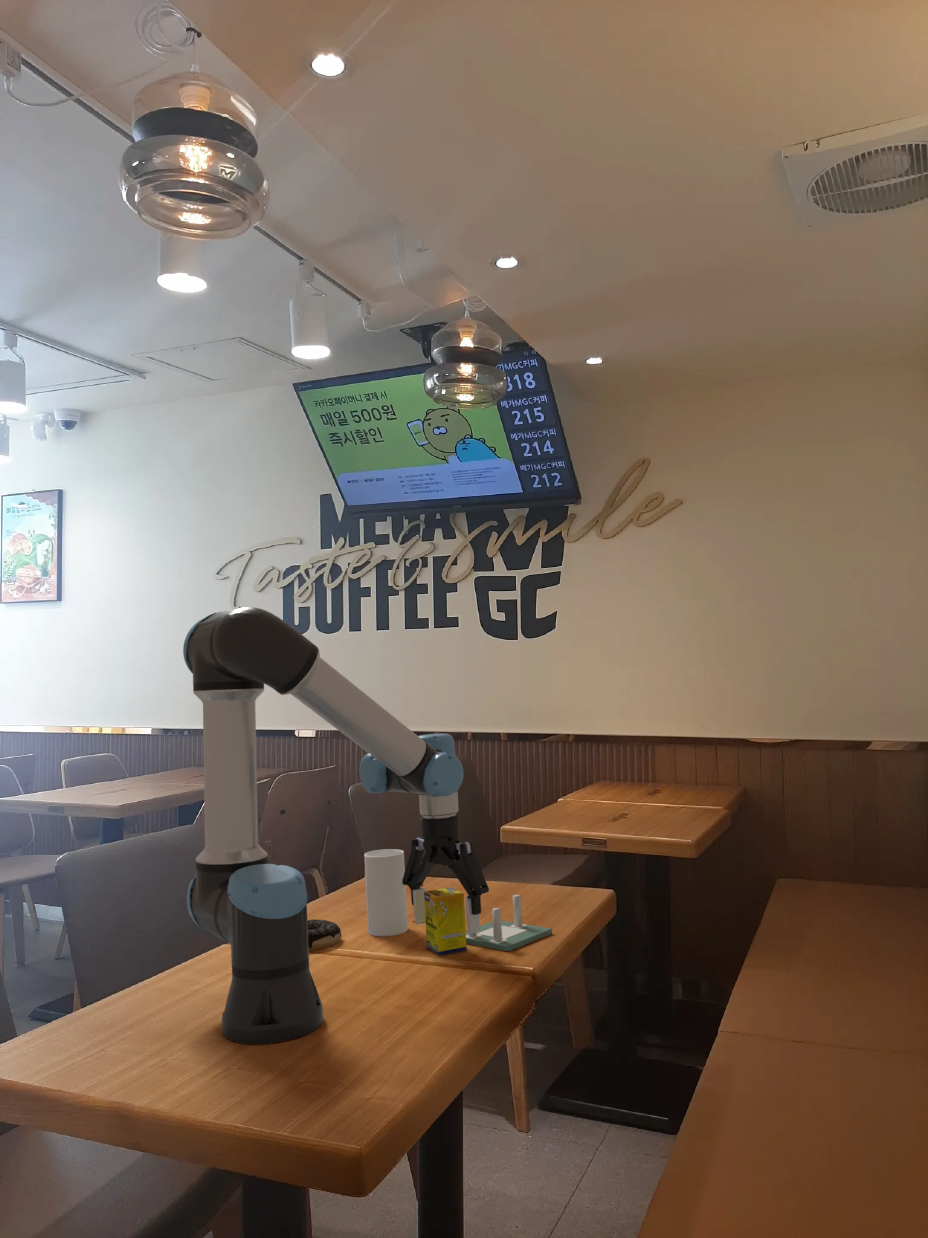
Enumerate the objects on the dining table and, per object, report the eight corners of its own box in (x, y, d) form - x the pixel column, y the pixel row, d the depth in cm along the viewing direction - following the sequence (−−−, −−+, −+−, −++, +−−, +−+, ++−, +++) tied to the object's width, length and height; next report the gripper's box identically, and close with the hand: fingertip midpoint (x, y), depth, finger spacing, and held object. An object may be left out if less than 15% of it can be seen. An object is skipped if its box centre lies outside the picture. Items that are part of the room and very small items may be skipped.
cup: (410, 925, 202) (406, 848, 203) (404, 936, 194) (400, 856, 195) (372, 926, 203) (368, 849, 204) (364, 937, 195) (360, 857, 196)
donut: (274, 951, 189) (273, 931, 189) (303, 935, 200) (302, 915, 200) (324, 954, 185) (324, 933, 185) (351, 937, 196) (350, 917, 197)
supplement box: (426, 949, 184) (423, 891, 185) (454, 944, 186) (451, 886, 187) (438, 956, 179) (435, 897, 179) (467, 951, 181) (464, 892, 182)
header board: (508, 951, 179) (506, 913, 179) (452, 941, 188) (450, 905, 189) (552, 933, 190) (550, 898, 190) (497, 924, 199) (495, 890, 199)
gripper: (502, 815, 179) (510, 930, 178) (406, 808, 195) (413, 914, 194) (476, 821, 173) (484, 941, 172) (380, 814, 189) (386, 923, 188)
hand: (446, 927), depth 183 cm, fingers open, 13 cm apart
